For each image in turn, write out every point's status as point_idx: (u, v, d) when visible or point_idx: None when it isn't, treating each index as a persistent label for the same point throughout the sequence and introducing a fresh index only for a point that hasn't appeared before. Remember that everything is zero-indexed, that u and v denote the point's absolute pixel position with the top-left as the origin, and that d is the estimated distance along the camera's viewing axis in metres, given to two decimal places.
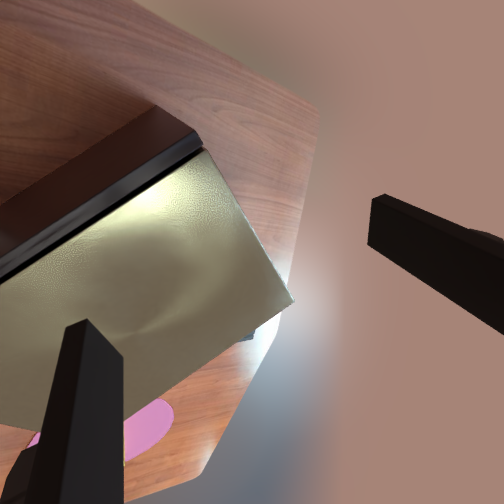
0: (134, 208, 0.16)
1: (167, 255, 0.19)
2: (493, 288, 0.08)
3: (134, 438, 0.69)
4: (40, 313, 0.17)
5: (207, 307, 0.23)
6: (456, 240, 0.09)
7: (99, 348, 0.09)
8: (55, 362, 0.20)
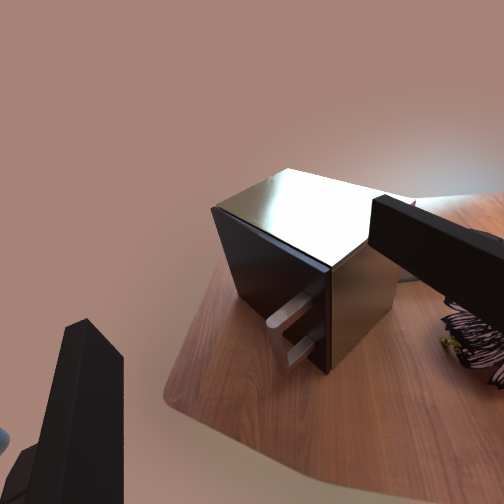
0: (236, 212, 0.42)
1: (257, 203, 0.44)
2: (493, 288, 0.08)
3: None
4: (286, 224, 0.37)
5: (288, 188, 0.46)
6: (456, 240, 0.09)
7: (99, 348, 0.09)
8: (321, 218, 0.36)
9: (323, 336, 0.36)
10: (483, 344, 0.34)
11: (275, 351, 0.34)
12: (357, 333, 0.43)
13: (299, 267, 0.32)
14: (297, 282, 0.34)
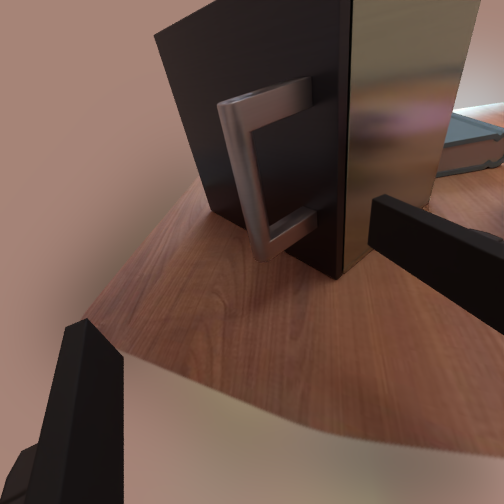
0: None
1: None
2: (493, 288, 0.08)
3: None
4: None
5: None
6: (456, 240, 0.09)
7: (99, 348, 0.09)
8: None
9: (332, 179, 0.20)
10: None
11: (242, 188, 0.18)
12: None
13: None
14: (283, 60, 0.18)
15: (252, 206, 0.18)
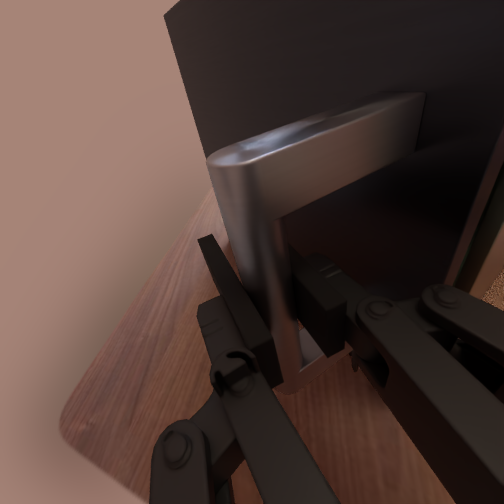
0: None
1: None
2: (309, 311, 0.09)
3: None
4: None
5: None
6: None
7: None
8: None
9: (429, 284, 0.11)
10: None
11: (255, 307, 0.09)
12: (494, 272, 0.19)
13: None
14: (361, 55, 0.09)
15: (273, 333, 0.10)
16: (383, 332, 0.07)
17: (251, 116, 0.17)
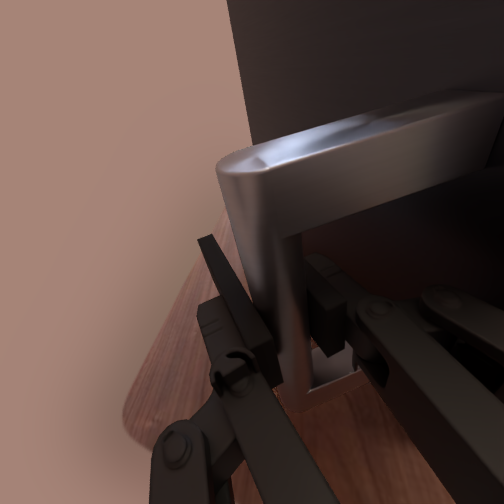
0: None
1: None
2: (309, 311, 0.09)
3: None
4: None
5: None
6: None
7: None
8: None
9: None
10: None
11: None
12: None
13: None
14: (431, 41, 0.07)
15: (279, 352, 0.09)
16: (383, 332, 0.07)
17: (299, 108, 0.15)
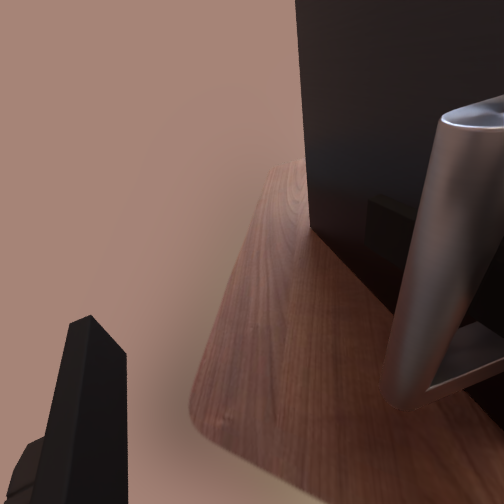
0: None
1: None
2: (487, 288, 0.08)
3: None
4: None
5: None
6: None
7: (103, 344, 0.09)
8: None
9: None
10: None
11: (417, 311, 0.08)
12: None
13: None
14: None
15: (425, 344, 0.08)
16: None
17: (391, 90, 0.14)
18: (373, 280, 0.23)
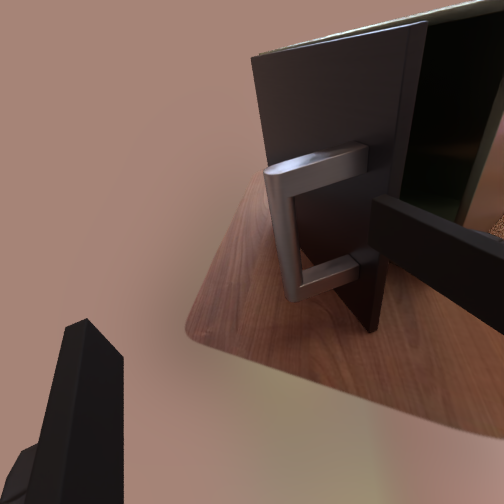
0: (296, 44, 0.28)
1: None
2: (493, 288, 0.08)
3: None
4: None
5: None
6: (456, 240, 0.09)
7: (99, 348, 0.09)
8: None
9: None
10: None
11: (277, 240, 0.19)
12: (479, 229, 0.29)
13: (355, 66, 0.15)
14: (347, 121, 0.18)
15: (285, 256, 0.20)
16: None
17: (297, 135, 0.26)
18: (309, 251, 0.34)
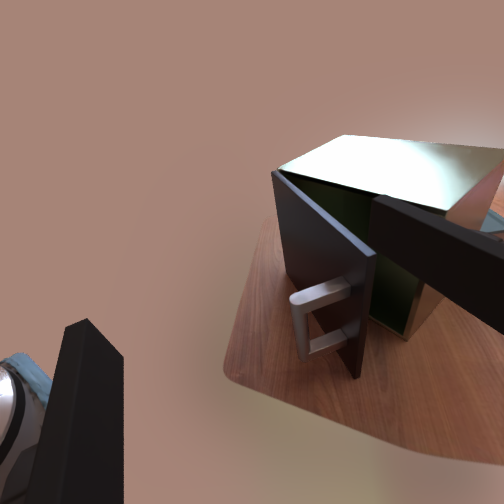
0: (304, 173, 0.40)
1: (325, 164, 0.41)
2: (493, 288, 0.08)
3: None
4: (370, 179, 0.34)
5: (354, 150, 0.43)
6: (456, 240, 0.09)
7: (99, 348, 0.09)
8: (409, 172, 0.34)
9: (356, 334, 0.31)
10: None
11: (295, 331, 0.31)
12: (433, 302, 0.41)
13: (342, 246, 0.27)
14: (338, 264, 0.29)
15: (300, 339, 0.32)
16: None
17: (306, 242, 0.38)
18: None
